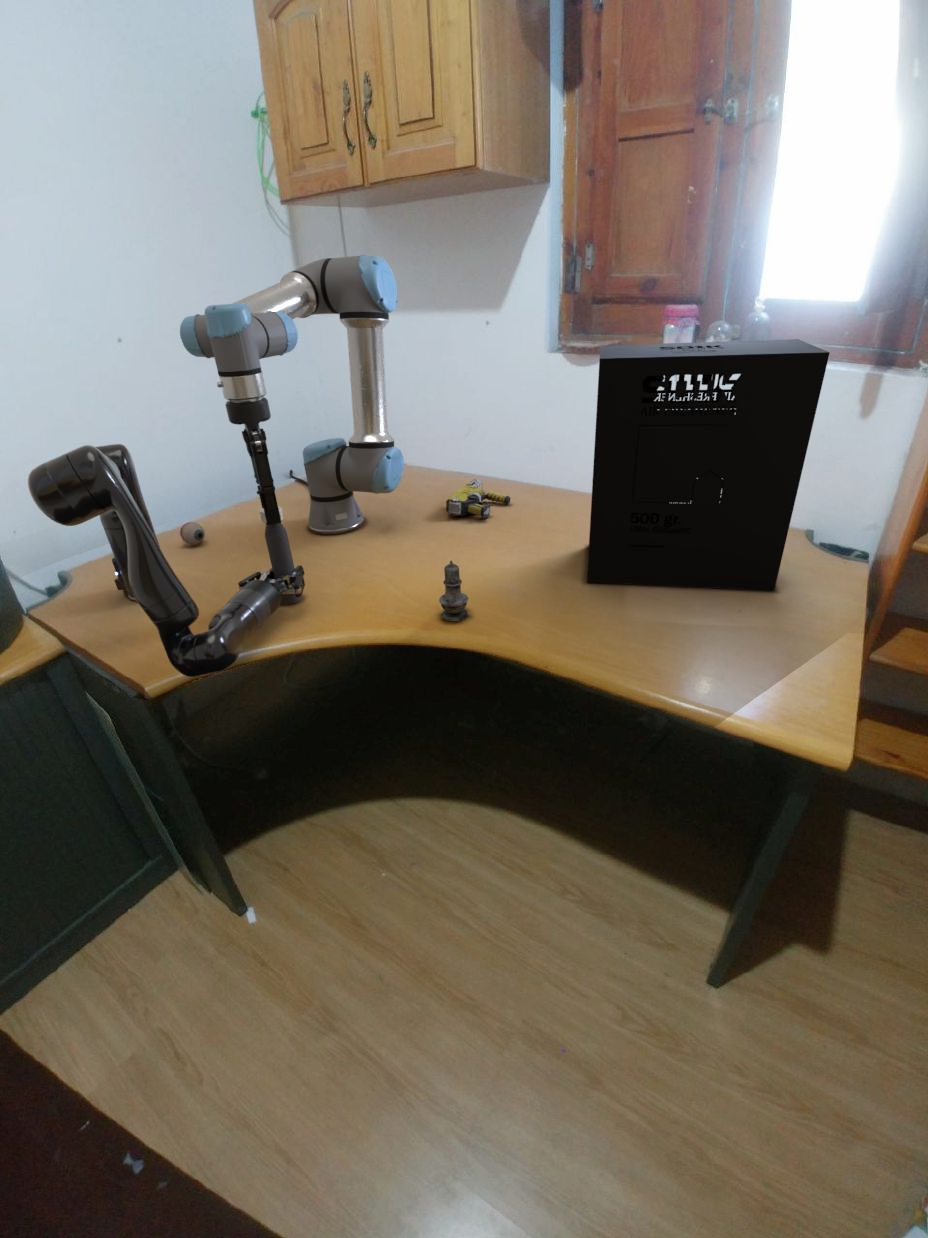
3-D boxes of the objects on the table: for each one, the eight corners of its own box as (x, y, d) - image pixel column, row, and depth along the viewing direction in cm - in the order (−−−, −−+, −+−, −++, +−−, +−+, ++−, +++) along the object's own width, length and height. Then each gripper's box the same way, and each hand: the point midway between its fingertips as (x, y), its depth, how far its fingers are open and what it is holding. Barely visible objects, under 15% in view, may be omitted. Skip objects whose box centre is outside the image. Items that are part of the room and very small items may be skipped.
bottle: (293, 606, 129) (273, 517, 119) (275, 603, 130) (255, 515, 120) (304, 596, 132) (287, 509, 122) (288, 594, 134) (269, 508, 124)
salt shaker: (466, 622, 119) (462, 567, 113) (437, 621, 120) (432, 566, 114) (471, 608, 123) (469, 554, 117) (443, 606, 125) (439, 553, 119)
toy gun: (518, 484, 183) (472, 477, 187) (496, 507, 163) (444, 499, 167) (517, 499, 185) (471, 492, 189) (494, 524, 165) (443, 515, 169)
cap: (285, 520, 121) (283, 510, 120) (263, 524, 120) (261, 514, 118) (281, 513, 124) (279, 504, 123) (260, 518, 123) (257, 508, 122)
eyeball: (193, 549, 159) (187, 528, 156) (179, 545, 162) (172, 524, 159) (212, 541, 163) (206, 520, 160) (198, 538, 166) (191, 517, 163)
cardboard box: (754, 550, 140) (797, 339, 118) (774, 590, 123) (829, 352, 101) (589, 545, 148) (601, 345, 125) (586, 582, 131) (599, 358, 108)
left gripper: (281, 591, 113) (318, 553, 127) (213, 587, 116) (256, 551, 130) (289, 625, 117) (324, 585, 131) (223, 621, 119) (264, 582, 134)
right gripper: (221, 394, 116) (249, 510, 128) (227, 408, 102) (258, 537, 114) (261, 389, 118) (285, 503, 130) (272, 403, 105) (298, 529, 116)
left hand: (290, 568), depth 130 cm, fingers closed on bottle, 4 cm apart
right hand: (272, 519), depth 122 cm, fingers closed on cap, 4 cm apart
